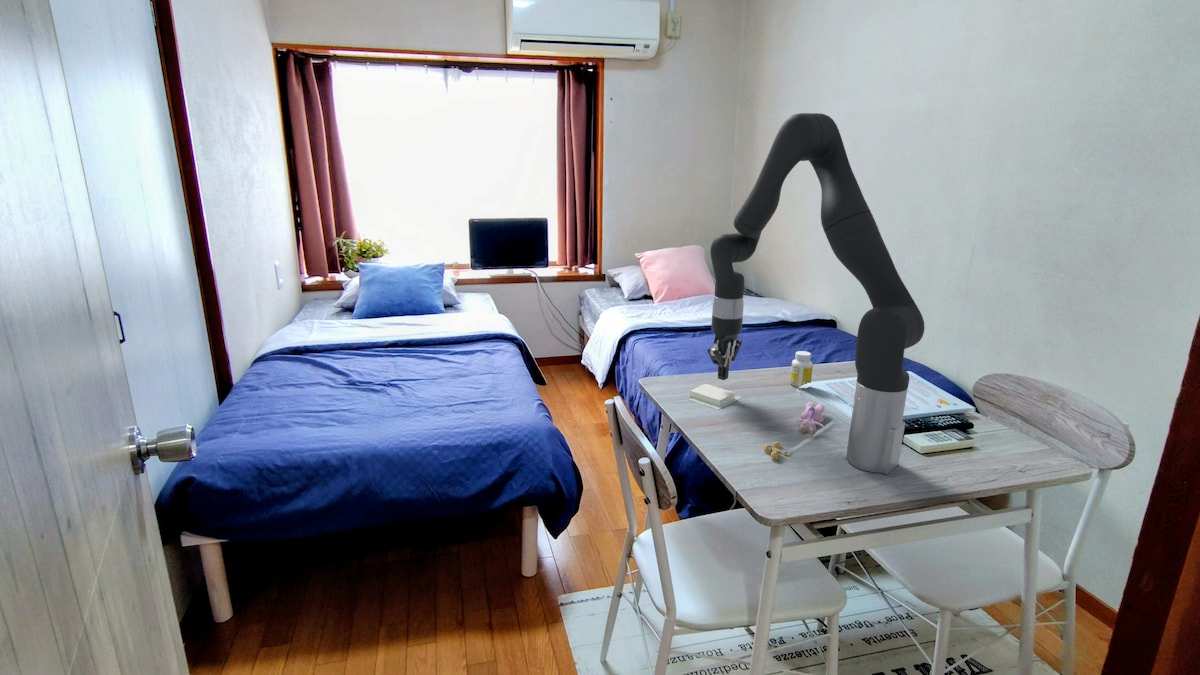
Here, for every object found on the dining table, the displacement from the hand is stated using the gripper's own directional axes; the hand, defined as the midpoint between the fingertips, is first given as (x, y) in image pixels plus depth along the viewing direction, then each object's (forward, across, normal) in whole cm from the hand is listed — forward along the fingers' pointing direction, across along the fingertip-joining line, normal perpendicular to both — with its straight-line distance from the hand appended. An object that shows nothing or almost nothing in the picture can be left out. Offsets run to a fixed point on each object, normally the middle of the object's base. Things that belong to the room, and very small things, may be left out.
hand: (722, 378), depth 155 cm
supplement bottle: (+5, +21, -12) cm, 24 cm away
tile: (+4, -3, -4) cm, 6 cm away
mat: (+5, -1, -3) cm, 6 cm away
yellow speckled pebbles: (+6, -19, -25) cm, 32 cm away
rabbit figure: (+5, 0, -24) cm, 25 cm away
